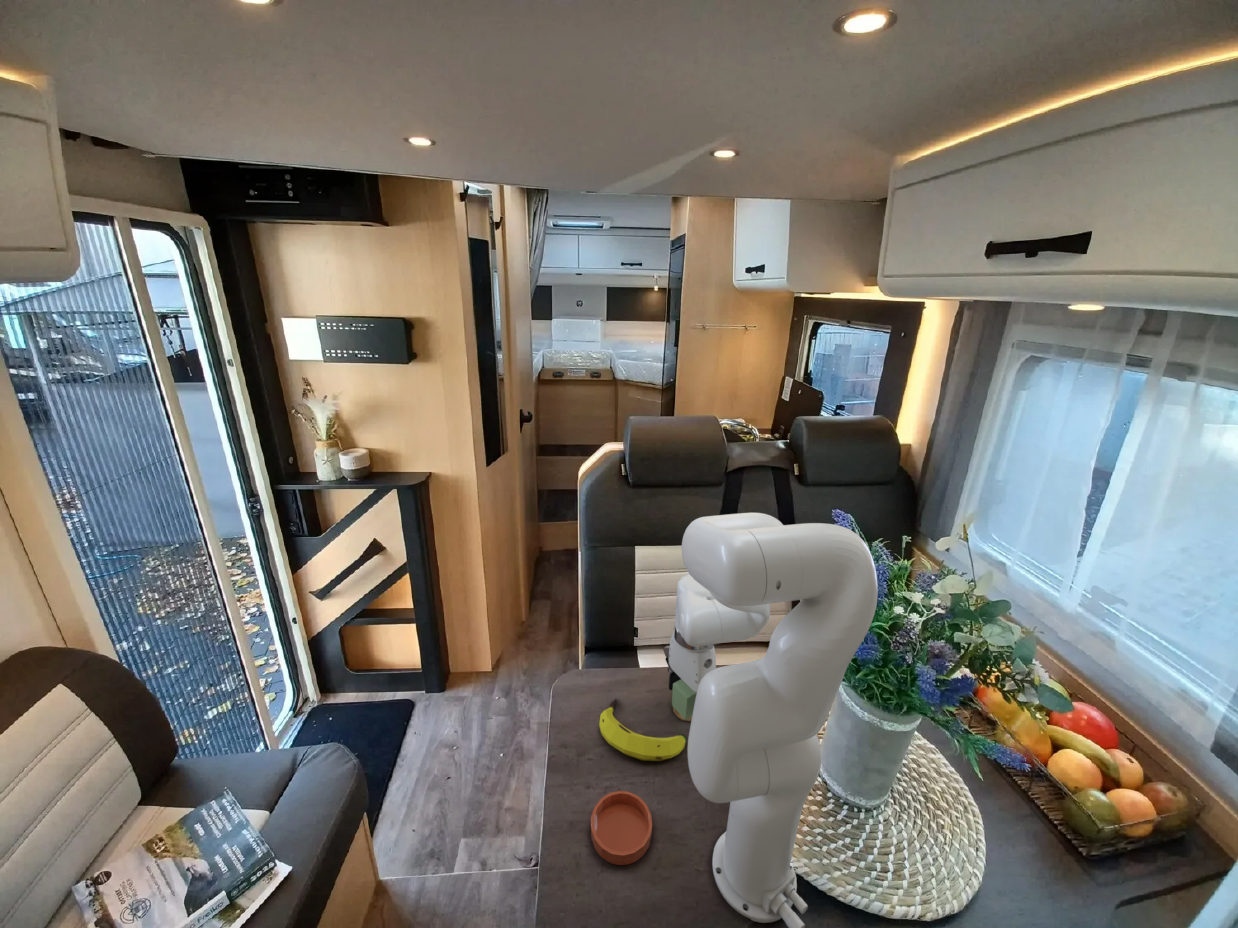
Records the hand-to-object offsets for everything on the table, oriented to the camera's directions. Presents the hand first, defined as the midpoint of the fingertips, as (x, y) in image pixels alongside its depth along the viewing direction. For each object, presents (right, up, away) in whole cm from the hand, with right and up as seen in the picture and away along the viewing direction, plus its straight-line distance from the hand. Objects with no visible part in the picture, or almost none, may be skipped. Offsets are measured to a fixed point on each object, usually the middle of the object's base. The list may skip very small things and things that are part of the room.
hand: (687, 699), depth 102 cm
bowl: (-14, -11, -22) cm, 29 cm away
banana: (-10, -5, -4) cm, 12 cm away
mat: (0, -3, +1) cm, 3 cm away
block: (0, -2, +1) cm, 2 cm away
